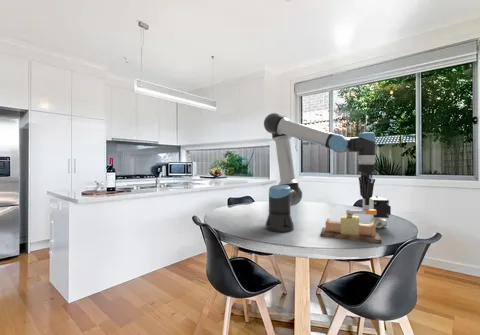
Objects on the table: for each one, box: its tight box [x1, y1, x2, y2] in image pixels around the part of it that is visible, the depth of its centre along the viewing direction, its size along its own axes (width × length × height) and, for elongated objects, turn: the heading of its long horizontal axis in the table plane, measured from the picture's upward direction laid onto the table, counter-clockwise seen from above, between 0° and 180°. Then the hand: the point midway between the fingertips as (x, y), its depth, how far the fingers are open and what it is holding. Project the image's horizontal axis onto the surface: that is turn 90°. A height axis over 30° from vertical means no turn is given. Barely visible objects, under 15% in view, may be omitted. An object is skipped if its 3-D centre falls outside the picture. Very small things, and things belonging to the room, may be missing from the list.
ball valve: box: [369, 194, 392, 229], centre depth 138 cm, size 18×8×18 cm, turn 168°
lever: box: [345, 209, 377, 216], centre depth 120 cm, size 14×3×2 cm, turn 90°
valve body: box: [325, 214, 377, 237], centre depth 120 cm, size 22×8×10 cm, turn 67°
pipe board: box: [320, 227, 383, 244], centre depth 120 cm, size 26×12×2 cm, turn 67°
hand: (365, 211), depth 122 cm, fingers closed
